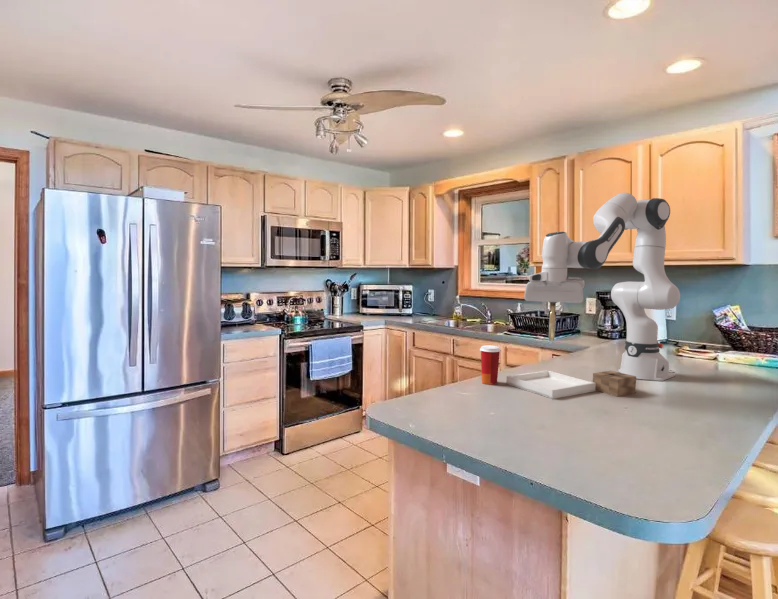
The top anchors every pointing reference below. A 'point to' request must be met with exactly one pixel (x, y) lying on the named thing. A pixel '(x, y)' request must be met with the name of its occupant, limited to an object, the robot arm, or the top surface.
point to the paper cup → (489, 364)
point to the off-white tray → (550, 384)
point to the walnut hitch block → (614, 383)
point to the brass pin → (552, 321)
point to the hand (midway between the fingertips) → (552, 314)
